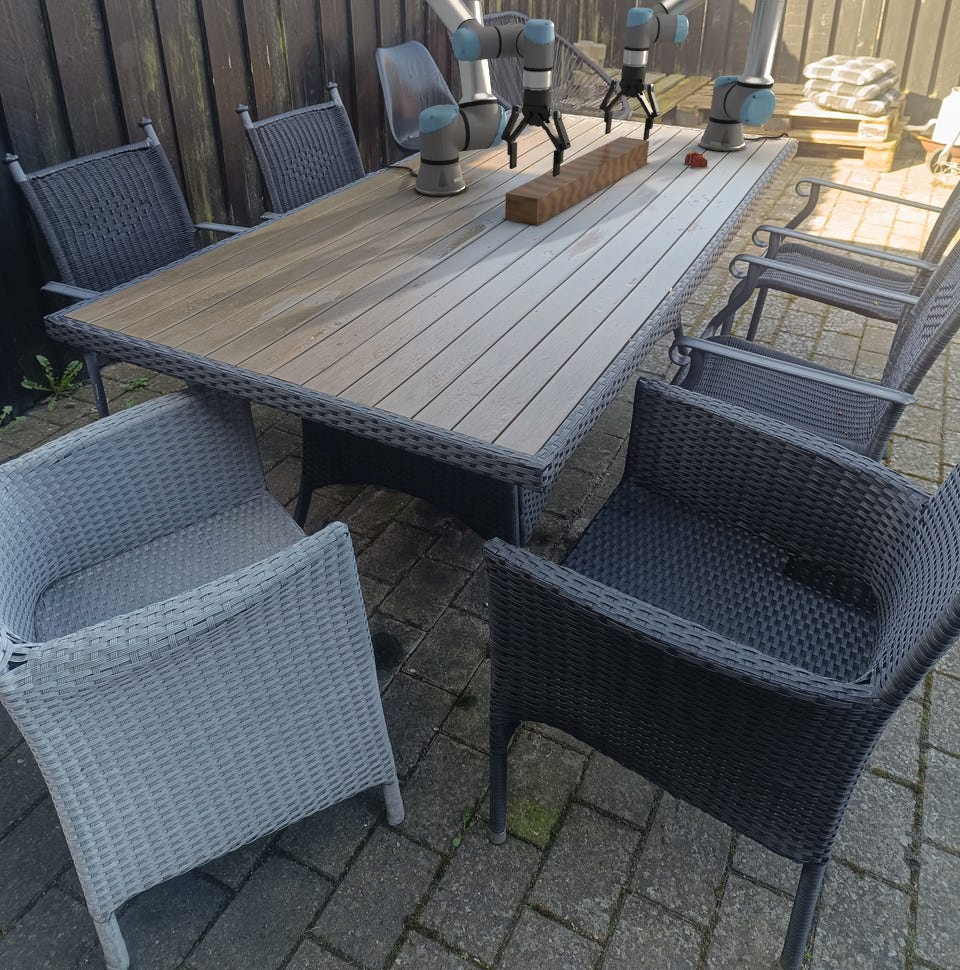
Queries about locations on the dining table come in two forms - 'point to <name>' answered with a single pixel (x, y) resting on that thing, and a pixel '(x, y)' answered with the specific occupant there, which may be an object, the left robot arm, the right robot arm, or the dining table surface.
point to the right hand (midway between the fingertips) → (626, 136)
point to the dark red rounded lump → (696, 160)
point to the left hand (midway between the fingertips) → (534, 171)
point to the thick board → (575, 181)
